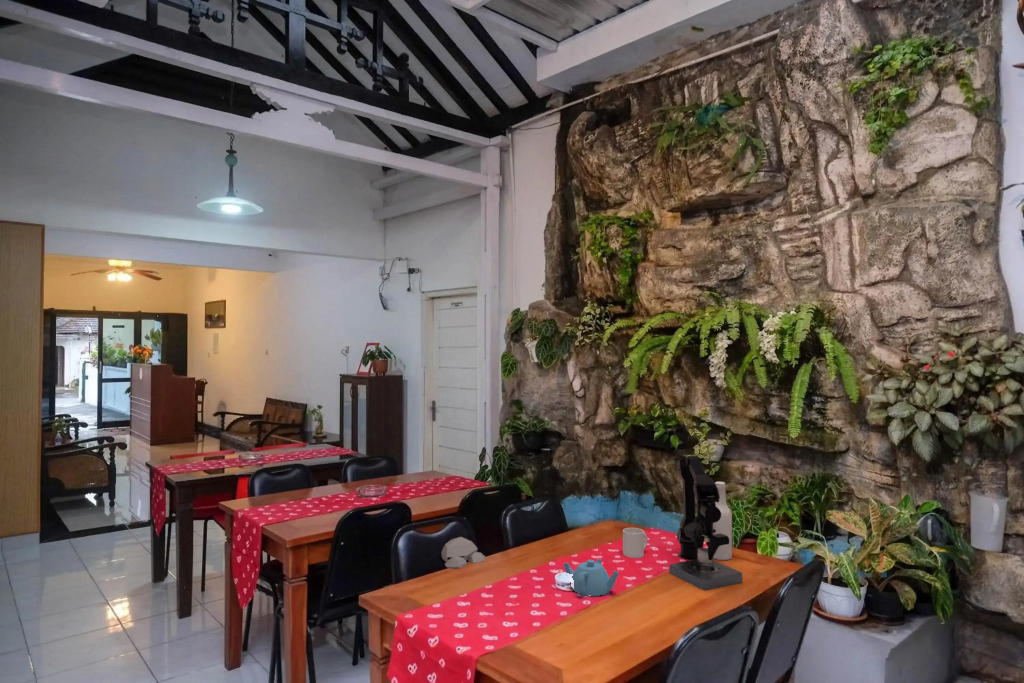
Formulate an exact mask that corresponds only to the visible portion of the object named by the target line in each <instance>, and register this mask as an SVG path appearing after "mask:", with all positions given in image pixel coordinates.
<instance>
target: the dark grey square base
mask: <svg viewBox="0 0 1024 683" xmlns="http://www.w3.org/2000/svg"><path fill="white" fill-rule="evenodd" d="M668 566H669V569H668V570H669V571H668V572H669V574H671V575H673V576H675V577H676V578H679V579H681V580H682V581H684V582H686V583H688V584H691V585H692V586H694V587H696V588H698V589H699V590H702V591H709V590H713V589H718V588H722V587H726V586H731V585H736V584H741V583H743V572H741V571H740V570H737V569H735V568H733V567H730V566H728V565H725V564H723V563H721V562H719V561H716V560H715V559H714V560H713V559H712V562H711V563H703V562H699V561H698V558H697V559H692V560H686V561H680V562H674V563H670V564H669V565H668Z"/></svg>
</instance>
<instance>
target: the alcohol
mask: <svg viewBox="0 0 1024 683" xmlns="http://www.w3.org/2000/svg"><path fill="white" fill-rule="evenodd" d="M714 483H715V484H716V487H717V488H718V492H719V496H720V498H719V502H715V504H716V507H717V508H718V509H719V510H720V512H721V518H720V520H719V521H717V522H715V523H713V529H715V530H716V533H713V534H720V533H721V534H723V535H726V536H728V537H729V544H726V545H721V546H719V547H718V549H717V551H716V552H715V554H714V556H713V558H712V560H713V559H714V560H715V561H716V560H717V561H729V560H731V558H732V557H733V541H732V540H733V525H732V524H733V518H732V516H733V514H732V510H731V509H730V508H729V507H728V505H727V497H726V495H727V494H726V482H724V481H716V482H714Z"/></svg>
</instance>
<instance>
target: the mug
mask: <svg viewBox="0 0 1024 683" xmlns="http://www.w3.org/2000/svg"><path fill="white" fill-rule="evenodd" d="M647 544H648V535H647V534H646V532H645V531H644V530H643V529H641V528H637V527H626V528H623V530H622V555H623V556H625V557H627V558H631V559H640V558H643V557H644V554H645V548H646V547H647Z"/></svg>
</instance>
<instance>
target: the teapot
mask: <svg viewBox="0 0 1024 683" xmlns="http://www.w3.org/2000/svg"><path fill="white" fill-rule="evenodd" d="M562 565H563V567H564V571H565V573H569V574H573V576H572V578H573V580H574V589H573V590H574V591H575V592H574V591H573V590H572V591H573V592H574V593H576V592H577V593H576V594H578V593H579V594H578V595H581V594H583V595H582V596H585V595H591V596H590V597H601V596H600V595H603V596H605V594H606V595H608V594H609V592H611V590H612V589H613V588H614V586H615V584H616V581H617V578H618V576H619V573H620V572H619V571H618V570H614V571H613V573H612V574H611V575H610V576H609V574H608V572H607V570H606V568H605V567H604V566H603V564H602V559H601V558H597V559H596V561H595V560H593V559H587V560H586V561H585V562H581V563H579V564H578V565H577V567H576V568H575V570H574V569H573V568H572V567H571V566H570V564H569V562H563V564H562ZM607 593H608V594H607Z"/></svg>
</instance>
